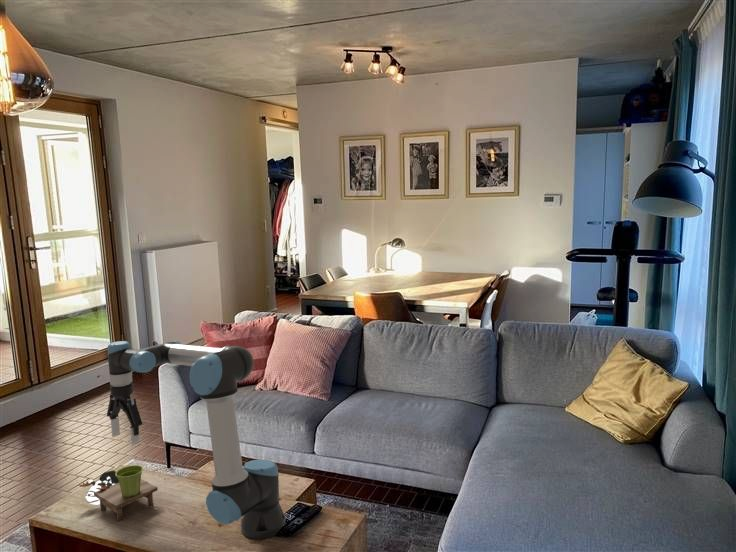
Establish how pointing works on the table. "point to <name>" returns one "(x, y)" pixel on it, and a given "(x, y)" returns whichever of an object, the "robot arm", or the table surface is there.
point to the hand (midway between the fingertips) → (125, 439)
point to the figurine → (100, 486)
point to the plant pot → (130, 479)
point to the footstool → (117, 500)
